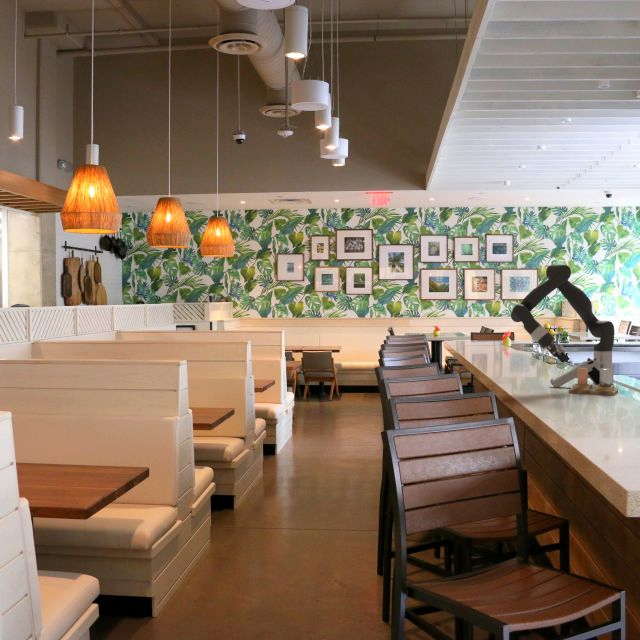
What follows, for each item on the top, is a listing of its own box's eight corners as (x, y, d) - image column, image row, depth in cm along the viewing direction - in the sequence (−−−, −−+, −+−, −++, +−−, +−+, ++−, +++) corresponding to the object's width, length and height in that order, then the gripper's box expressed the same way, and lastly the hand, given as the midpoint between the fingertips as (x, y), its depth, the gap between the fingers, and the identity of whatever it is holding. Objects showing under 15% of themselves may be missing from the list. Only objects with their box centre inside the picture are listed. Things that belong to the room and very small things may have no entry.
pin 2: (604, 389, 350) (604, 368, 350) (611, 390, 346) (611, 369, 346) (597, 390, 349) (597, 368, 348) (604, 391, 344) (604, 369, 344)
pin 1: (582, 388, 355) (582, 367, 355) (589, 389, 351) (589, 368, 351) (575, 388, 354) (575, 368, 353) (582, 389, 350) (582, 368, 349)
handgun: (614, 379, 370) (599, 353, 370) (565, 406, 372) (550, 380, 372) (611, 378, 374) (596, 352, 374) (563, 405, 376) (548, 379, 376)
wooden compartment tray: (568, 393, 350) (568, 385, 349) (574, 390, 361) (574, 383, 361) (613, 395, 339) (613, 388, 339) (618, 392, 350) (618, 385, 350)
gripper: (544, 332, 354) (569, 356, 348) (551, 331, 366) (575, 354, 361) (533, 342, 357) (557, 367, 351) (540, 341, 369) (564, 365, 363)
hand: (566, 361), depth 356 cm, fingers open, 8 cm apart
